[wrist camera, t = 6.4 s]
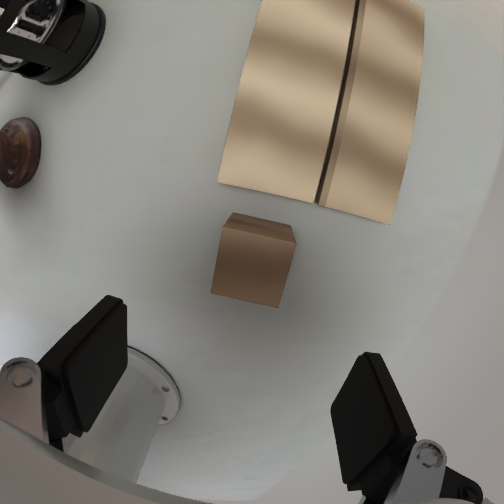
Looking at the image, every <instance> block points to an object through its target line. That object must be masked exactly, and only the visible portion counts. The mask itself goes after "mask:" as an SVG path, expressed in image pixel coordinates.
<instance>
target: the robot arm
mask: <svg viewBox="0 0 504 504" xmlns="http://www.w3.org/2000/svg"><path fill="white" fill-rule="evenodd" d="M179 406H180V396H179V392H178V390H177V387H176V385H175V384H174V382H173V381H172V379H171V378H170V376H169V375H168V374H167V373H166V372H165V371H164V370H163V369H162V368H161V367H160V366H159V365H157V364H156V363H155V362H154V361H153V360H151V359H150V358H148V357H147V356H145V355H143V354H142V353H140V352H138V351H136V350H134V349H131V348H129V347H127V306H126V305H125V304H123V300H122V299H120V298H116V297H113V296H110V295H106V296H105V297H104V298H103V299H102V300H101V301H100V302H99V303H98V304H97V305H95V306H94V307H93V308H92V309H91V310H90V311H89V312H88V313H87V314H86V315H85V316H84V317H83V318H82V319H81V320H80V321H79V322H78V323H76V324H75V325H74V326H73V327H72V328H71V329H70V330H69V331H68V332H67V333H66V334H65V335H64V336H63V337H62V338H61V339H60V340H59V341H58V342H57V343H56V344H55V345H54V346H53V347H52V348H51V349H50V350H49V351H48V352H47V353H46V354H45V355H44V356H43V357H42V358H41V359H40V361H39V362H38V363H35V362H34V361H33V360H31V359H28V358H23V357H20V358H14V359H11V360H9V361H8V362H6V363H5V364H4V365H3V367H2V368H1V371H0V504H212V503H206V502H201V501H197V500H192V499H188V498H184V497H180V496H176V495H172V494H168V493H165V492H161V491H158V490H154V489H151V488H148V487H145V486H142V485H139V484H136V481H137V479H138V476H139V473H140V470H141V468H142V465H143V462H144V460H145V457H146V454H147V452H148V449H149V446H150V444H151V441H152V439H153V436H154V433H155V431H156V428H157V426H158V425H163V424H166V423H168V422H170V421H171V420H172V419H174V417H175V416H176V414H177V412H178V409H179ZM331 418H332V423H333V428H334V434H335V438H336V444H337V450H338V456H339V462H340V468H341V474H342V480H343V483H344V484H347V489H348V491H356V490H362V495H363V496H362V498H361V500H360V502H359V503H358V504H493V503H492V502H491V501H489V500H488V499H487V498H485V499H483V492H482V490H481V487H480V486H479V485H478V484H477V483H476V482H474V481H472V480H471V479H469V478H467V477H465V476H463V475H461V474H459V473H457V472H456V471H454V470H452V469H450V468H449V467H447V466H446V462H447V456H446V453H445V451H444V450H443V448H442V447H441V446H440V445H439V444H438V443H436V442H434V441H431V440H426V439H425V440H420V441H418V442H417V441H416V438H415V437H416V436H417V433H416V430H415V428H414V426H413V423H412V421H411V419H410V416H409V414H408V412H407V410H406V407H405V405H404V403H403V401H402V398H401V396H400V394H399V392H398V390H397V388H396V386H395V383H394V381H393V379H392V377H391V375H390V373H389V371H388V369H387V367H386V365H385V362H384V360H383V358H382V356H381V355H380V354H379V353H371V352H364V353H363V354H362V355H359V356H358V358H357V359H356V361H355V363H354V365H353V367H352V369H351V371H350V373H349V375H348V377H347V378H346V380H345V382H344V384H343V386H342V388H341V389H340V391H339V393H338V395H337V397H336V398H335V400H334V402H333V403H332V406H331Z"/></svg>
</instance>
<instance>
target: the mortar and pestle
mask: <svg viewBox="0 0 504 504" xmlns="http://www.w3.org/2000/svg"><path fill="white" fill-rule="evenodd" d="M39 155H40V138H39V132H38V130H37V127H36V125H35V124H34V123H33V122H32V121H31V120H30V119H28V118H26V117H21V118H16V119H13V120H10V121H9V122H8V123H7V124H6V125H4V127H3V128H2V129H1V131H0V180H1V182H2V183H3V184H5V185H6V186H7V187H11V188H19V187H21V186H23V185H24V184H26V183H27V182H28V181H29V180H30V179H31V177H32V176H33V175H34V173H35V171H36V169H37V166H38V160H39Z"/></svg>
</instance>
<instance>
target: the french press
mask: <svg viewBox="0 0 504 504" xmlns="http://www.w3.org/2000/svg"><path fill="white" fill-rule="evenodd" d="M0 7H1V8H4V9H5V10H4V12H3V14H2V15H0V70H3V71H9V72H14V73H19V74H20V75H22V76H23V77H25V78H28V79H32V80H37V81H39V82H40V83H42V84H45V85H56V84H60V83H63V82H65V81H67V80H68V79H70V78H71V77H73V76H74V75H75V74H77V73H78V72H79V71H80V70H81V69H82V68H83V67H84V66H85V65H86V64H87V63H88V61H89V60H90V59H91V57H92V56H93V55H94V53H95V51H96V50H97V48H98V46H99V44H100V42H101V40H102V37H103V34H104V30H105V15H104V13H103V10H102V9H101V8H100V7H99V6H98V5H96V4H94V3H90V2H88V1H87V0H0ZM76 13H84V16H83V20H82V23H81V26H80V29H79V31H78V33H77V35H76V37H75V39H74V40H73V42H72V44H71V45H70V46H69V48H68V49H67V51H66V52H63V51H61V50H58V49H56V48H53V47H50V46H48V45H46V44H47V42H48V41H49V40H50V38H51V36H52V35H53V33H54V31H55V30H56V28H57V26H58V24H59V23H60V22H61V21H62V20H64V19H65V18H66V17H68V16H70V15H73V14H76ZM42 65H44V66H48V67H50V68H49V69H48V70H45V69H44V68H43V66H42Z"/></svg>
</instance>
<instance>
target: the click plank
mask: <svg viewBox="0 0 504 504" xmlns="http://www.w3.org/2000/svg"><path fill="white" fill-rule="evenodd" d="M354 5H355V0H262V3H261V6H260V9H259V13H258V16H257V20H256V23H255V27H254V30H253V34H252V37H251V41H250V45H249V48H248V52H247V56H246V59H245V63H244V67H243V71H242V75H241V79H240V83H239V87H238V91H237V95H236V99H235V103H234V107H233V112H232V116H231V120H230V124H229V129H228V133H227V138H226V142H225V147H224V151H223V156H222V161H221V166H220V170H219V175H218V180H217V182H218V183H223V184H228V185H233V186H238V187H243V188H248V189H252V190H257V191H262V192H266V193H271V194H275V195H280V196H284V197H288V198H293V199H297V200H301V201H305V202H309V203H314V199H315V195H316V191H317V187H318V183H319V179H320V175H321V171H322V167H323V163H324V159H325V154H326V150H327V146H328V141H329V137H330V133H331V128H332V124H333V119H334V114H335V110H336V105H337V100H338V95H339V90H340V85H341V80H342V75H343V70H344V65H345V59H346V54H347V48H348V43H349V37H350V31H351V25H352V19H353V12H354Z"/></svg>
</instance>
